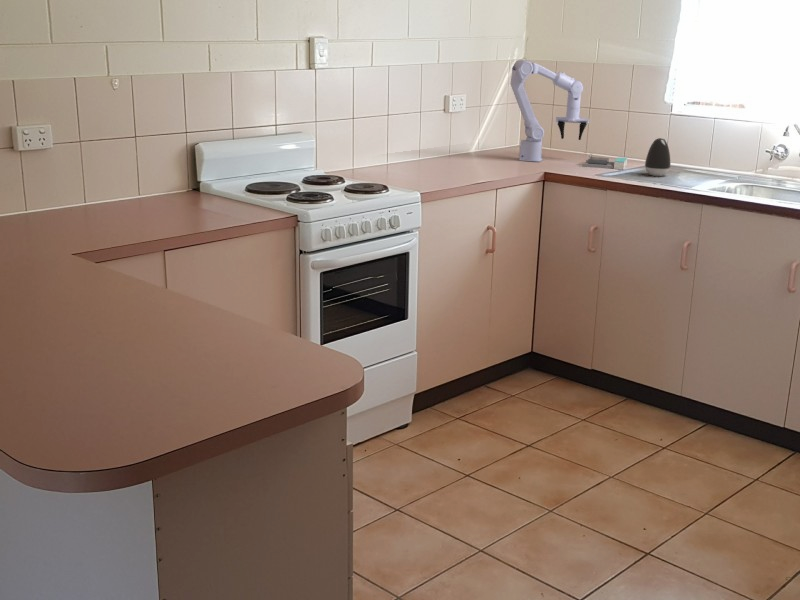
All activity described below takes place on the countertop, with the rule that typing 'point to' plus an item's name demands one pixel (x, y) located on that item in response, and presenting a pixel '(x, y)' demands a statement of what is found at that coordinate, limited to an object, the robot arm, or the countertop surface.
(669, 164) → the dark egg-shaped dome
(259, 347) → the countertop surface
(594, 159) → the trolley
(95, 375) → the countertop surface
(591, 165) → the dock
